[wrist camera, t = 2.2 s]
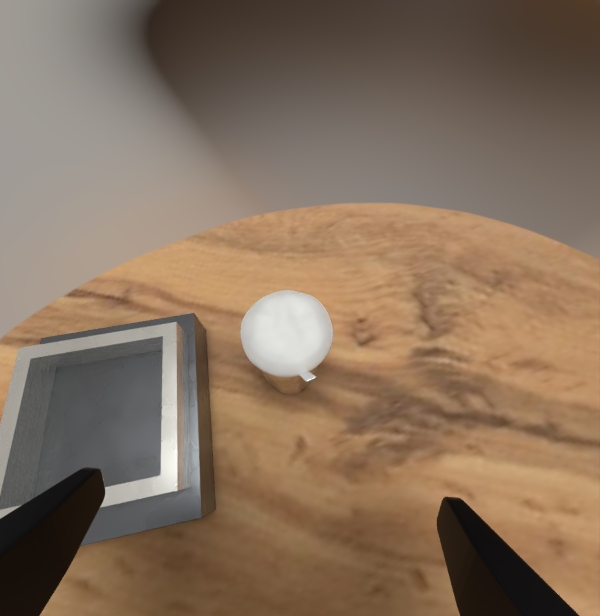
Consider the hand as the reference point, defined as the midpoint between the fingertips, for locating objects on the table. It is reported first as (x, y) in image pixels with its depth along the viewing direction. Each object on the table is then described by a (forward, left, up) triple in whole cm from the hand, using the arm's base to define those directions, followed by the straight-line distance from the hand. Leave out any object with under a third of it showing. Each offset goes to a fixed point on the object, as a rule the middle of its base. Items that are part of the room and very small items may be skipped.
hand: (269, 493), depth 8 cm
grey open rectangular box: (+5, +9, -12) cm, 16 cm away
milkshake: (+6, -2, -13) cm, 14 cm away
